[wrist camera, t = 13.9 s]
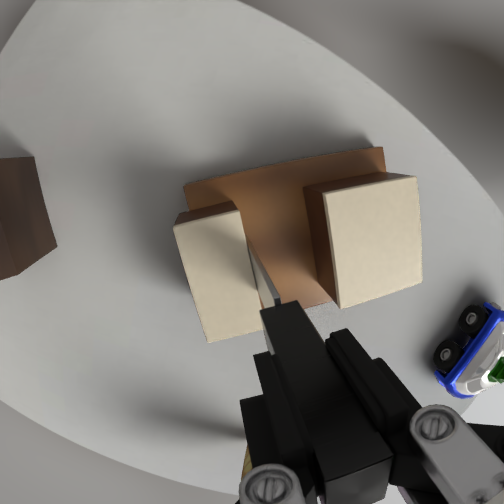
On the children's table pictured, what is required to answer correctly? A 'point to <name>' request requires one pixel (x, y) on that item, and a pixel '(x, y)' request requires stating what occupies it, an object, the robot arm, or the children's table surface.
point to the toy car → (474, 353)
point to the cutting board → (284, 213)
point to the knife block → (22, 217)
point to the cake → (365, 235)
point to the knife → (324, 402)
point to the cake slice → (219, 270)
